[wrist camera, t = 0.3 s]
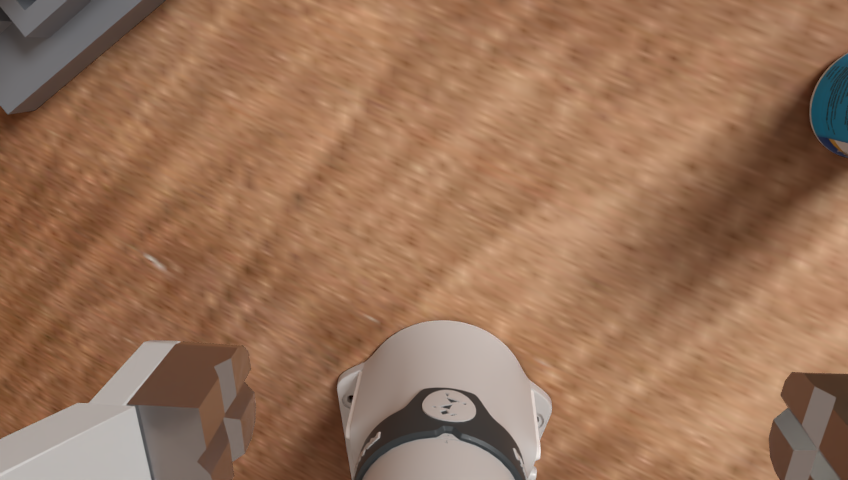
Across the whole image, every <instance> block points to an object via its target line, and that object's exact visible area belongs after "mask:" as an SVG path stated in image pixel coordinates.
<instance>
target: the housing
mask: <svg viewBox="0 0 848 480" xmlns="http://www.w3.org/2000/svg"><path fill="white" fill-rule="evenodd" d="M164 1H165V0H0V106H1V107H2V108H3V109H4V111H5V112H6V113H7V114H15V113H22V112H28V111H35V110H36V109H37V108H38V107H40V106H41V105H42V104H43V103H44V102H45V101H47V100H48V99H49V98H50V97H51V96H53V95H54V94H55V93H56V92H57V91H59V90H60V89H61V88H62V87H63V86H64V85H66V84H67V83H68V82H69V81H70V80H72V79H73V78H74V77H75V76H76V75H78V74H79V73H80V72H81V71H82V70H83V69H85V68H86V67H87V66H88V65H89V64H91V63H92V62H93V61H94V60H95V59H97V58H98V57H99V56H100V55H101V54H102V53H104V52H105V51H106V50H107V49H108V48H110V47H111V46H112V45H113V44H114V43H116V42H117V41H118V40H119V39H120V38H121V37H123V36H124V35H125V34H126V33H127V32H129V31H130V30H131V29H132V28H133V27H135V26H136V25H137V24H138V23H139V22H140V21H142V20H143V19H144V18H145V17H146V16H148V15H149V14H150V13H151V12H152V11H154V10H155V9H156V8H157V7H158V6H159V5H161V4H162V3H163V2H164Z"/></svg>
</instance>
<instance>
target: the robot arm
mask: <svg viewBox="0 0 848 480" xmlns="http://www.w3.org/2000/svg"><path fill="white" fill-rule="evenodd" d="M250 370H251V364H250V359H249V353H248V350H247V349H246V348H245V347H244V346H243V345H229V344H214V343H199V342H185V341H183V342H180V341H167V340H150V341H146V342H144V343H143V344H142V345H141V346H140V347H139V348H138V349H137V350H136V351H135V353H134V354H133V355H132V356H131V357H130V358H129V359H128V360H127V361H126V362H125V364H124V365H123V366H122V367H121V368H120V369H119V370H118V371H117V372H116V373H115V375H114V376H113V377H112V378H111V379H110V380H109V381H108V382H107V383H106V384H105V386H104V387H103V388H102V389H101V390H100V391H99V392H98V393H97V394H96V395H95V397H94V398H93V399H92V400H91V401H90V402H89V403H77V404H75V405H73V406H70V407H68V408H66V409H64V410H62V411H60V412H57V413H55V414H53V415H51V416H49V417H47V418H45V419H42V420H40V421H38V422H36V423H34V424H32V425H29V426H27V427H25V428H23V429H21V430H19V431H17V432H14V433H12V434H10V435H8V436H6V437H4V438H1V439H0V480H232V479H233V477H234V470H233V463H232V462H233V461H235V460H236V459H237V458H239V457H240V456H242V455H243V454H245V452H246V450H247V448H248V446H249V443H250V441H251V439H252V434H253V430H254V425H255V420H256V402H255V394H254V392H253V391H252V389H251V388H250V387H249V386H248V385H247V384H246V383H245V382H244V381H245V379H246V378H247V376H248V374H249V372H250ZM337 393H338V399H339V405H340V411H341V418H342V424H343V430H344V436H345V442H346V448H347V454H348V460H349V466H350V472H351V478H352V480H535V479H536V474H537V469H536V467H534V463H535V461H536V460H539V459H540V454H541V448H540V439H541V437H542V434H543V432H544V429H545V427H546V425H547V422H548V420H549V418H550V415H551V412H552V402H551V399H550V397H549V396H548V395H547V394H546V392H544V391H543V390H542V389H541V388H540V387H538V386H537V385H536V384H534V383H533V382H531V381H530V380H529V379H528V378H527V376H526V375H525V373H524V372H523V370H522V368H521V366H520V364H519V362H518V360H517V359H516V357H515V356H514V354H513V353H512V352H511V351H510V350H509V348H508V347H507V346H506V345H505V344H504V343H503V342H501V341H500V340H499V339H498V338H496V337H495V336H494V335H492V334H490V333H489V332H487V331H485V330H483V329H481V328H479V327H476V326H473V325H470V324H467V323H463V322H457V321H448V320H438V321H428V322H423V323H419V324H415V325H412V326H410V327H407V328H405V329H403V330H401V331H399V332H397V333H396V334H394V335H393V336H391V337H390V338H388V339H387V340H386V341H385V342H384V343H383V344H382V345H381V346H380V347H379V348H378V349H377V350H376V351H375V353H374V354H373V355H372V356H371V357H370V358H369V359H368V360H367V361H365V362H364V363H361V364H359V365H357V366H354V367H352V368H350V369H348V370H347V371H345V372H344V373H342V374H341V375H340V377H339V379H338V384H337ZM350 395H354V396H353V399H351V398H350V397H349V396H350ZM781 397H782V399H783V400H784V402H785V404H786V406H787V407H788V408H787V409H786V410H785V411H783V412H782V413H781V414H780V415H779V416H777V417H776V418H775V419H774V420H773V423H772V427H771V431H770V435H769V448H770V458H771V461H772V464H773V467H774V470H775V472H776V474H777V476H778V478H779V479H780V480H848V374H832V373H801V372H792V373H791V374H790V375H789V377H788V378H787V379H786V380H785V383H784V386H783V389H782V392H781Z"/></svg>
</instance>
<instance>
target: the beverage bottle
mask: <svg viewBox="0 0 848 480" xmlns="http://www.w3.org/2000/svg"><path fill="white" fill-rule="evenodd" d="M809 116H810V123H811V127H812V129H813V132H814V134H815V136H816V137H817V139H818V140H819V141H820V143H821V144H822V145H823V146H824V147H826V148H827V149H828V150H830V151H831V152H833V153H835V154H837V155H840V156H843V157H846V158H848V53H846V54H845V55H843V56H842V57H840V58H839V59H837V60H836V61H835V62H834V63H833V64H832V65H831V66H829V68H828V69H827V70H826V71H825V72H824V73H823V75H822V76H821V77H820V79H819V81H818V82H817V84H816V86H815V88H814V91H813V93H812V97H811V101H810V108H809Z"/></svg>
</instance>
